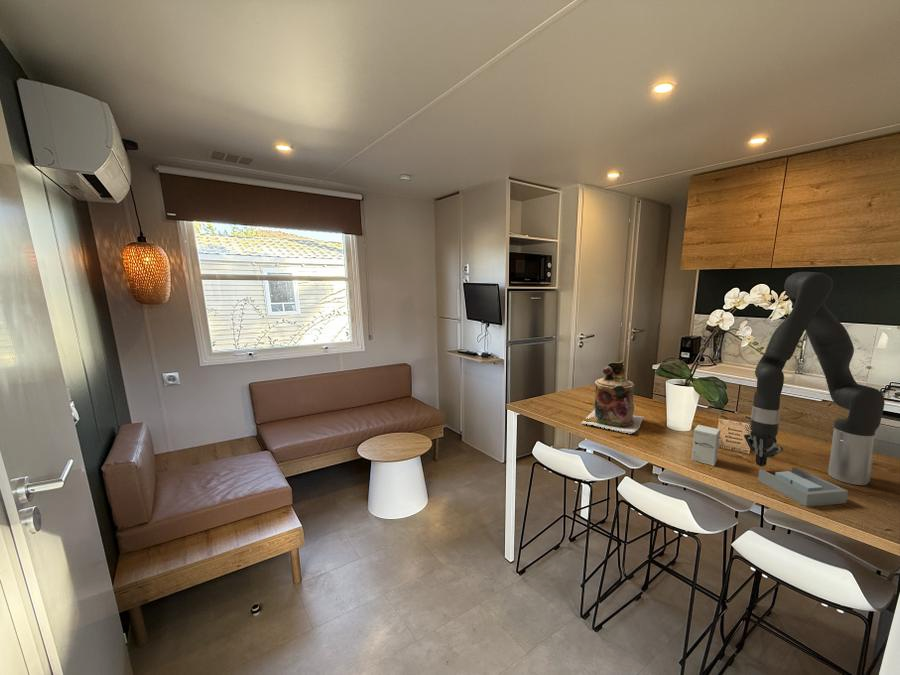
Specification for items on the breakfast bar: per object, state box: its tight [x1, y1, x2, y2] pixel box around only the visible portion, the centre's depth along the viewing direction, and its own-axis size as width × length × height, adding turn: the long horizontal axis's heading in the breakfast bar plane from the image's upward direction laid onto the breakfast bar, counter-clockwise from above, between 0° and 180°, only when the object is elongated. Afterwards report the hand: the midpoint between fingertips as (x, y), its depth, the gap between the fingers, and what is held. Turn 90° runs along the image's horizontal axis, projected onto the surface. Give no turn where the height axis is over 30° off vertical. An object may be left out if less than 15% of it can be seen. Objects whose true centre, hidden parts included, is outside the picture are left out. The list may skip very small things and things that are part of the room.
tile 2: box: [791, 479, 823, 492], centre depth 114 cm, size 5×5×4 cm
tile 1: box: [774, 470, 804, 484], centre depth 119 cm, size 5×5×4 cm
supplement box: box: [691, 424, 721, 467], centre depth 138 cm, size 7×7×13 cm
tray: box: [757, 466, 849, 507], centre depth 116 cm, size 14×15×4 cm
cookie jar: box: [581, 359, 645, 435], centre depth 176 cm, size 25×25×32 cm
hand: (760, 465), depth 130 cm, fingers closed
